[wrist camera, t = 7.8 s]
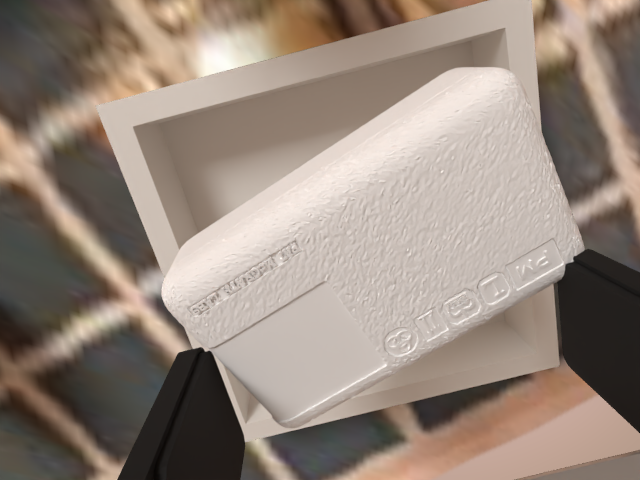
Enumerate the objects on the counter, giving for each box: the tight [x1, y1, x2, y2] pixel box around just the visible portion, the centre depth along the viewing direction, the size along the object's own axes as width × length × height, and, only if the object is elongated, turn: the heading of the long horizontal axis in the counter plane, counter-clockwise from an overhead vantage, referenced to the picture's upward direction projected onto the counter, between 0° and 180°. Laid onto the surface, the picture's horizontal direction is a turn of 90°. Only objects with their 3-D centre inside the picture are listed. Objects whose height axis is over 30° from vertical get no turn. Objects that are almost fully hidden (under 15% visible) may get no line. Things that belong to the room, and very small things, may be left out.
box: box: [96, 0, 560, 442], centre depth 19 cm, size 16×16×4 cm
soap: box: [162, 67, 584, 428], centre depth 11 cm, size 9×6×3 cm, turn 123°
